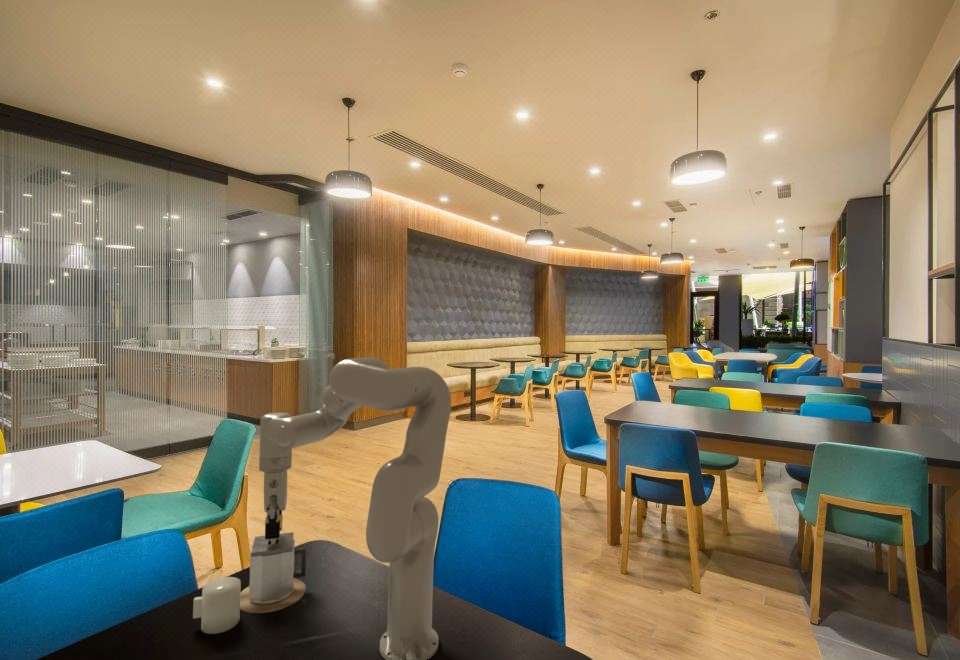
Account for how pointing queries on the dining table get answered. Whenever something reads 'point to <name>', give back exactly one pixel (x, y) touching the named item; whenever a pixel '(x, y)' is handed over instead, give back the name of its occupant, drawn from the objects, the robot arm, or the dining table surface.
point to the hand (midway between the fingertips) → (273, 530)
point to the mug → (218, 605)
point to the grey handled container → (274, 569)
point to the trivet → (297, 594)
